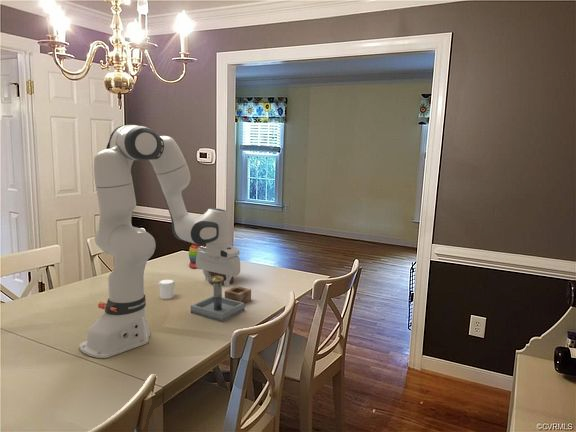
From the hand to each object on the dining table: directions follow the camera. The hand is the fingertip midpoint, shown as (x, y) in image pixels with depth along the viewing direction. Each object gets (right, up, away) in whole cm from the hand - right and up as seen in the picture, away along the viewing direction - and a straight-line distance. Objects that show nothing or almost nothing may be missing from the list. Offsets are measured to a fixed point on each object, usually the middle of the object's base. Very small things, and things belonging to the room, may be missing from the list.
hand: (217, 283), depth 162 cm
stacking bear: (-22, -1, +64) cm, 68 cm away
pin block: (+7, -10, +13) cm, 18 cm away
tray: (0, -12, +2) cm, 12 cm away
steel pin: (0, -11, +2) cm, 11 cm away
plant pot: (-5, -6, +38) cm, 39 cm away
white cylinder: (-25, -9, +17) cm, 31 cm away
